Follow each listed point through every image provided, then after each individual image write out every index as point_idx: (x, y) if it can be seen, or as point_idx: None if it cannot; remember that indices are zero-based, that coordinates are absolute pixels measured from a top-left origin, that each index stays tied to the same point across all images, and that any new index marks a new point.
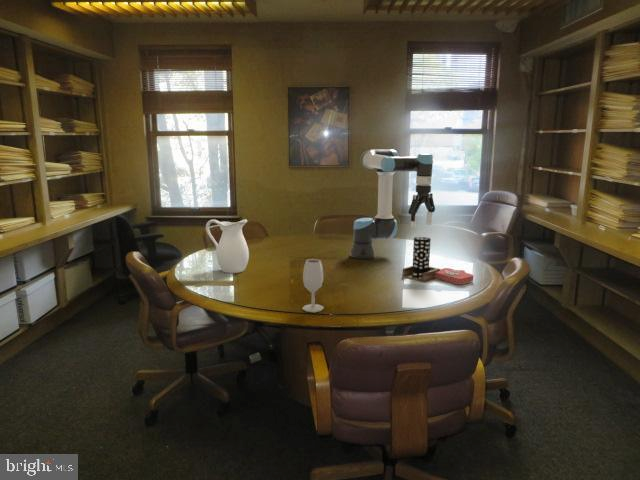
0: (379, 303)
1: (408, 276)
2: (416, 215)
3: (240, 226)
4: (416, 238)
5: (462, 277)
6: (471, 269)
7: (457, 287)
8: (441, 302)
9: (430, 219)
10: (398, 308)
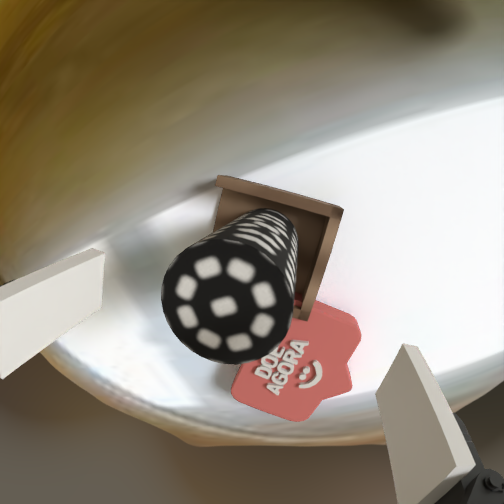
0: (9, 235)
1: (229, 202)
2: (3, 373)
3: None
4: (196, 266)
5: (251, 401)
6: (457, 365)
7: (216, 379)
8: (82, 355)
9: (388, 433)
10: None
